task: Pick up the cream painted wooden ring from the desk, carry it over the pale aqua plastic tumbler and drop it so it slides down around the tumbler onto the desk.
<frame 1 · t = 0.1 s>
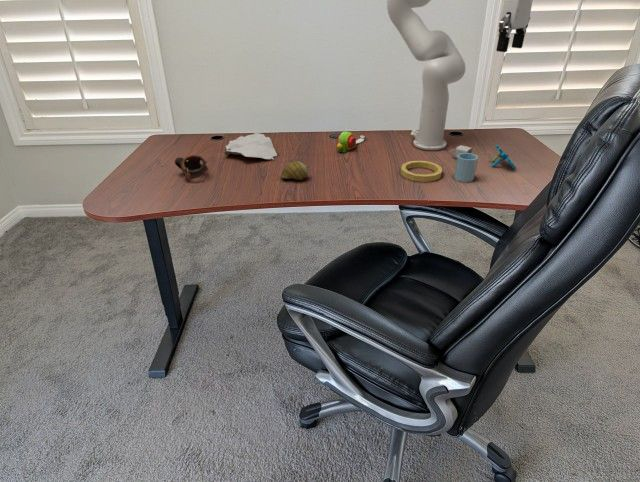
hand: (509, 49, 131), 37 cm above the table, tool pointing down, fingers open, 9 cm apart
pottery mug: (193, 176, 144), on the table
paper: (249, 153, 162), on the table
usb wall charger: (459, 157, 155), on the table
seashell: (294, 179, 141), on the table
blue branched piece: (502, 166, 147), on the table
ring: (421, 173, 143), on the table
toy measuring tape: (351, 146, 166), on the table
cup: (463, 178, 140), on the table
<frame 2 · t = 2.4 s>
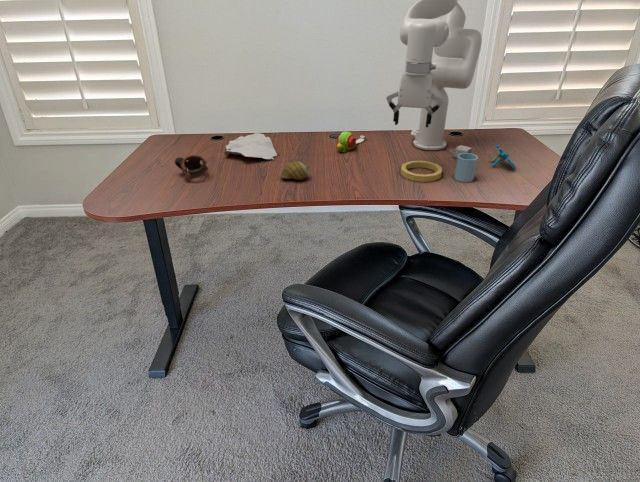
hand: (411, 125, 136), 16 cm above the table, tool pointing down, fingers open, 9 cm apart
nothing on the table moved.
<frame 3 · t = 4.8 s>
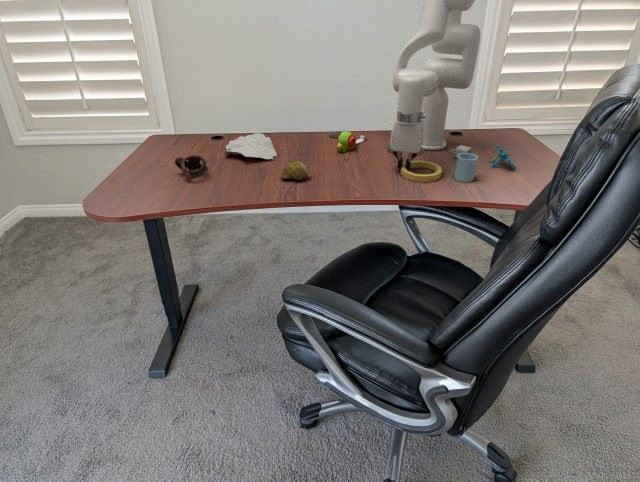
hand: (403, 170, 144), 1 cm above the table, tool pointing down, fingers closed on ring, 1 cm apart
ring: (420, 173, 143), on the table, touching gripper
everything else where it was.
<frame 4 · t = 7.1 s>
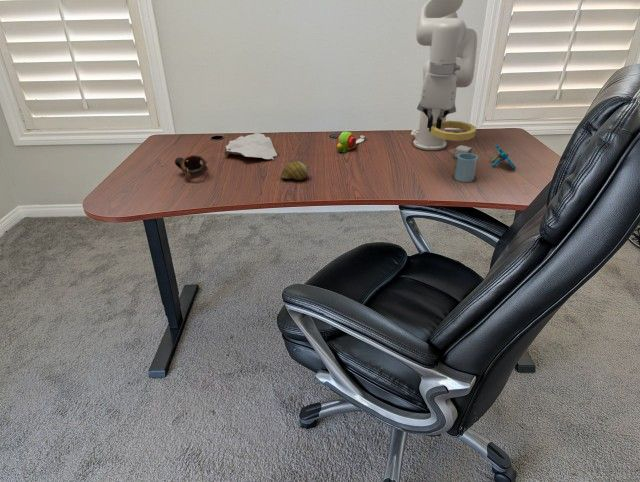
hand: (433, 130, 134), 15 cm above the table, tool pointing down, fingers closed on ring, 1 cm apart
ring: (452, 133, 133), point 15 cm above the table, touching gripper
everything else where it was.
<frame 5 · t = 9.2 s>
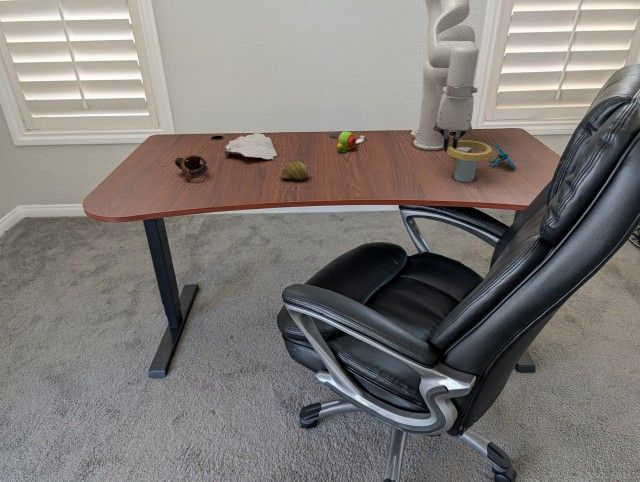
hand: (449, 149, 136), 9 cm above the table, tool pointing down, fingers closed on ring, 1 cm apart
ring: (468, 153, 135), point 9 cm above the table, touching gripper
everything else where it was.
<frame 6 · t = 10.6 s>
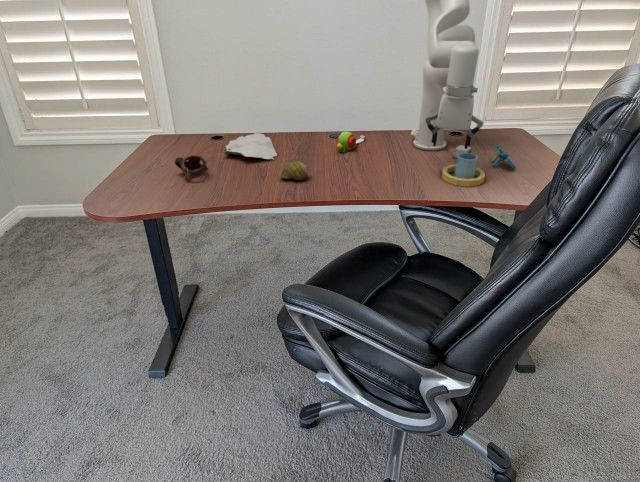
hand: (450, 146, 135), 10 cm above the table, tool pointing down, fingers open, 9 cm apart
ring: (462, 177, 140), on the table
everything else where it was.
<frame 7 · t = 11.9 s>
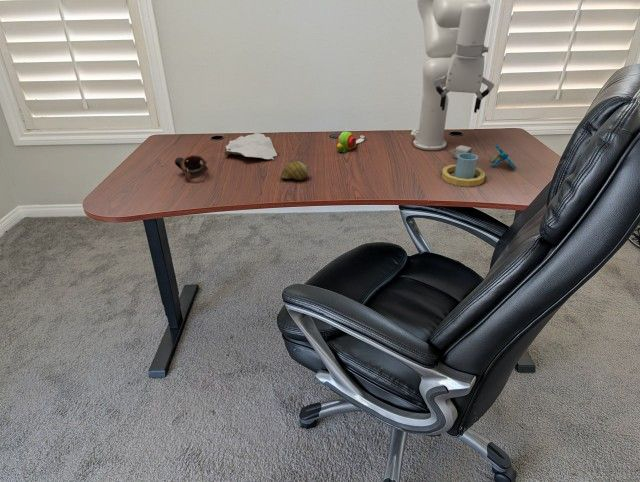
hand: (458, 110, 132), 21 cm above the table, tool pointing down, fingers open, 9 cm apart
nothing on the table moved.
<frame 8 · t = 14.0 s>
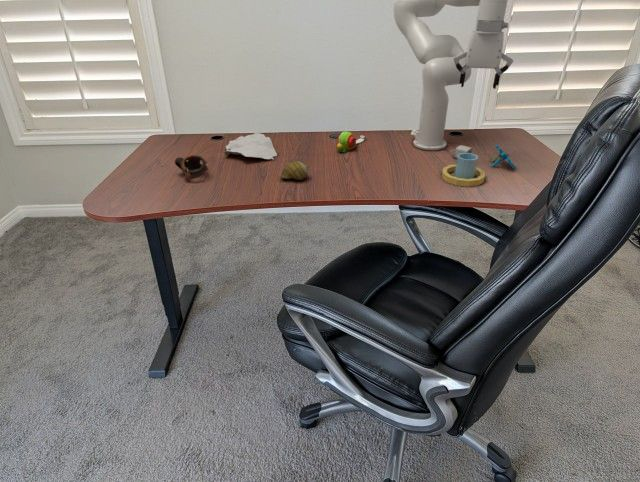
hand: (478, 86, 135), 26 cm above the table, tool pointing down, fingers open, 9 cm apart
nothing on the table moved.
at the end: ring 0.4 cm from the cup (horizontally); ring on the table; ring tilted 0° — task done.
